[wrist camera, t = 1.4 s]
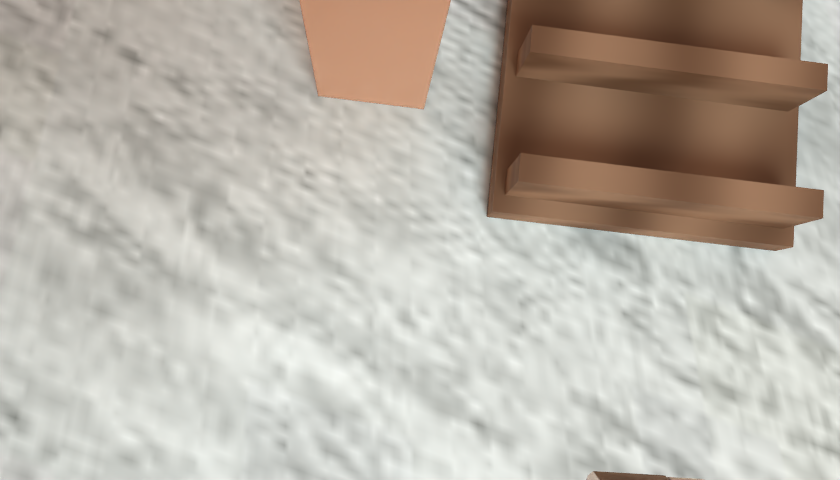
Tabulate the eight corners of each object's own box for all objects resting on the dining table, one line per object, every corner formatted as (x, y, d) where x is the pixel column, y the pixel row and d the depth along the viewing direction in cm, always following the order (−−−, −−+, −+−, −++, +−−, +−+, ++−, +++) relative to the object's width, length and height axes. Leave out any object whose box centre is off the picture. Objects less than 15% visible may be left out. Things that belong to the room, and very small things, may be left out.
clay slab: (318, 95, 35) (294, -28, 23) (324, 47, 35) (303, -99, 24) (423, 109, 35) (452, -7, 24) (428, 61, 36) (459, -77, 24)
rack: (487, 216, 35) (504, 198, 30) (513, -61, 37) (533, -116, 32) (775, 250, 36) (833, 238, 31) (786, -23, 38) (843, -72, 33)
